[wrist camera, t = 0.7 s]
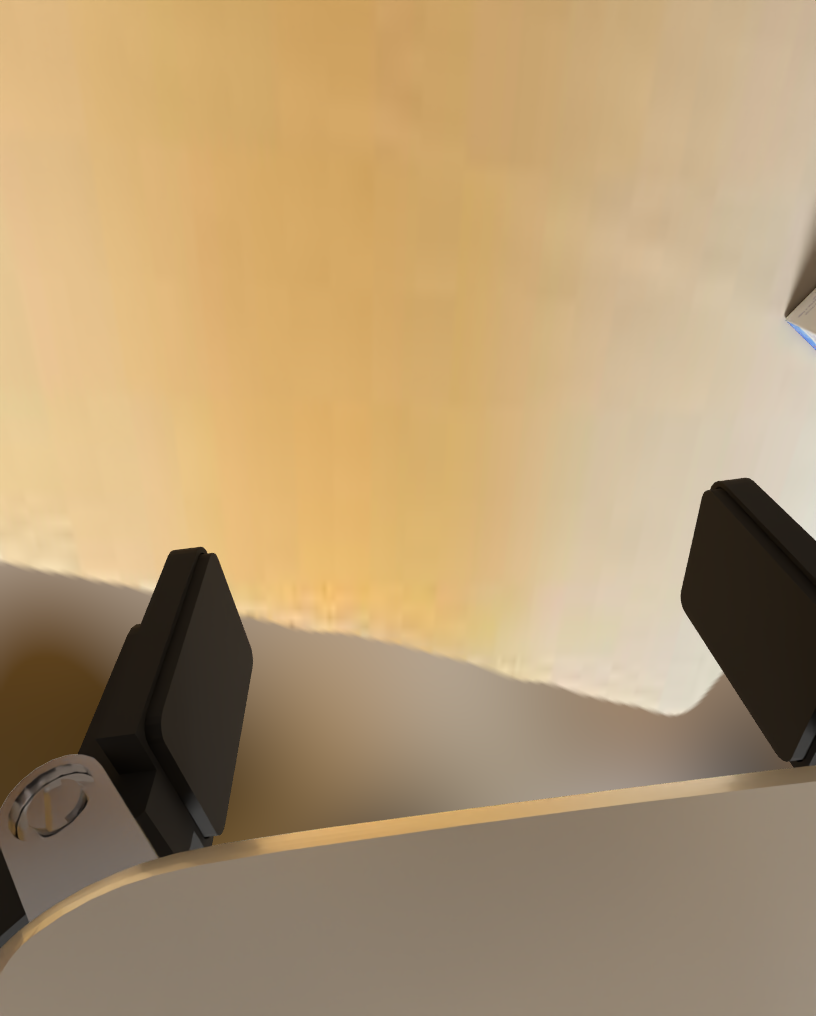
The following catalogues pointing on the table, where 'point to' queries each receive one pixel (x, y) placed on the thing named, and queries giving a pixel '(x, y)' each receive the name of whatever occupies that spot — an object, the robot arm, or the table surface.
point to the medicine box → (805, 319)
